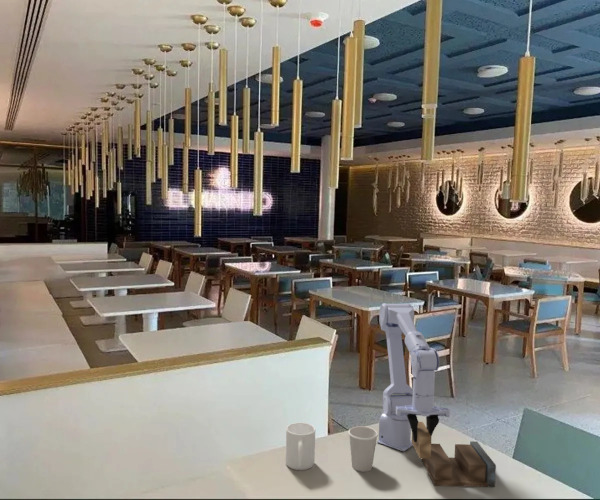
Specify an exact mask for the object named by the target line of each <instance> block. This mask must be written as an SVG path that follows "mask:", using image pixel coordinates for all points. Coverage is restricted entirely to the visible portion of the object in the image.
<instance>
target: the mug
mask: <svg viewBox="0 0 600 500" xmlns="http://www.w3.org/2000/svg"><path fill="white" fill-rule="evenodd" d="M285 434H286V435H285V465H286V466H287V467H288V468H289V469H291V470H295V471H305V470H310V469H311V468H312V467H313V466H314V464H315V461H316V460H315V459H316V457H315V456H316V455H315V454H316V451H315V450H316V427H315V426H314V425H312V424H310V423H305V422H293V423H290V424H288V425H287V426H286V430H285Z"/></svg>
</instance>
